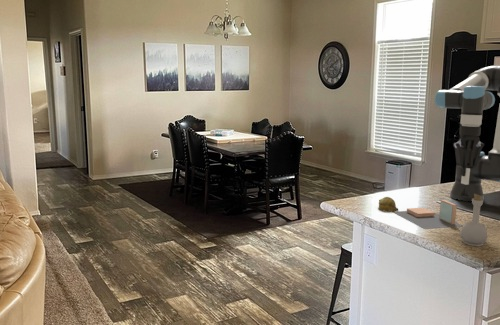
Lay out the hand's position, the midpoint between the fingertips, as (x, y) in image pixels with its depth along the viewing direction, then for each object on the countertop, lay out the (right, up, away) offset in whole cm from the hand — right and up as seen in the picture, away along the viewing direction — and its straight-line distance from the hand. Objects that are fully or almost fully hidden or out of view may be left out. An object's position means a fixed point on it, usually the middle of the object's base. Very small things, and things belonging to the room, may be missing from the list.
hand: (464, 183), depth 188 cm
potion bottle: (-7, -20, -22) cm, 31 cm away
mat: (-14, -15, +5) cm, 21 cm away
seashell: (-26, -13, +18) cm, 34 cm away
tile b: (-7, -15, +1) cm, 17 cm away
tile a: (-10, -12, +11) cm, 20 cm away
